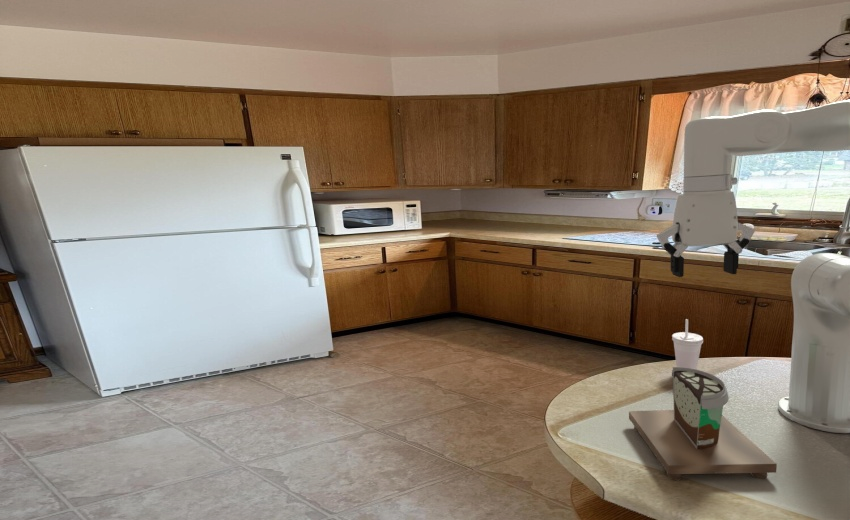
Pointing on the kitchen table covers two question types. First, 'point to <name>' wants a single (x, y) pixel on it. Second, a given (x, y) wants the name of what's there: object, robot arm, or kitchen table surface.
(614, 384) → the kitchen table surface
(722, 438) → the tan square plate
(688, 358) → the smoothie
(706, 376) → the food container
